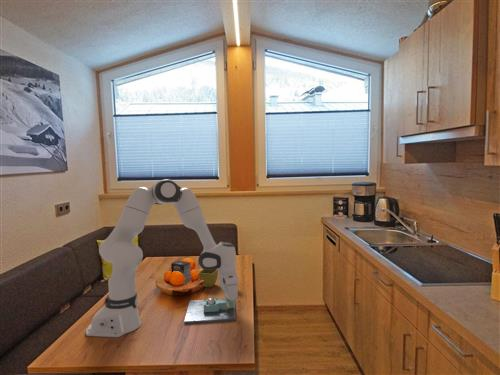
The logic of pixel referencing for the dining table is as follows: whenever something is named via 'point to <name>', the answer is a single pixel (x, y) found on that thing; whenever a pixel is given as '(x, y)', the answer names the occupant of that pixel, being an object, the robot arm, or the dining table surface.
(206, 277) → the flower pot
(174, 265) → the coffee box
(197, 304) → the base plate
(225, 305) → the flange
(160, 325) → the dining table surface
